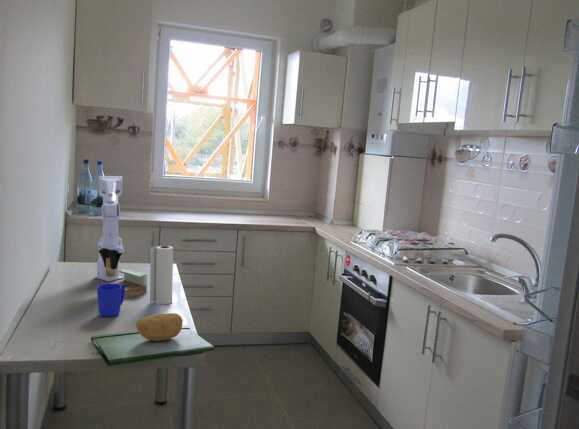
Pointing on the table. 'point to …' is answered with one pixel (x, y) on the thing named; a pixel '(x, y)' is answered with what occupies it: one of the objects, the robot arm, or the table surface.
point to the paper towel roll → (161, 274)
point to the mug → (110, 299)
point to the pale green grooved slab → (135, 277)
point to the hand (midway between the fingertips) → (110, 268)
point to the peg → (109, 269)
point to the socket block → (132, 288)
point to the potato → (160, 326)
